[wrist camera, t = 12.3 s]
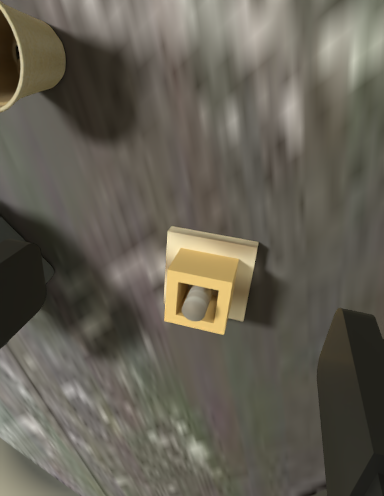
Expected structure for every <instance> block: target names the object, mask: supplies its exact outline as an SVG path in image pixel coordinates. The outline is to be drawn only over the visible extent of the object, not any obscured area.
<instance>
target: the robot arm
mask: <svg viewBox="0 0 384 496" xmlns="http://www.w3.org/2000/svg"><path fill="white" fill-rule="evenodd" d="M45 298H46V284H45V277H44V270H43V263H42V256H41V251H40V248H39V247H38V246H37V245H36V244H34V243H29V242H24V241H19V240H14V239H6V240H4V241H2V242H1V243H0V348H2V347H3V346H4V345H5V344H6V343H7V342H8V341H9V340H10V339H11V338H12V337H13V336H14V335H15V334H16V333H17V332H18V331H19V330H20V329H21V328H22V327H23V326H24V325H25V324H26V323H27V322H28V321H29V320H30V319H31V318H32V317H33V316H34V315H35V314H36V313H37V312H38V311H39V310H40V309H41V307H42V306H43V304H44V301H45ZM317 386H318V397H319V408H320V419H321V430H322V441H323V453H324V464H325V475H326V486H327V496H384V339H382V336H381V333H380V330H379V327H378V324H377V321H376V319H375V317H374V316H373V315H371V314H366V313H361V312H357V311H352V310H347V309H342V308H338V309H337V311H336V313H335V315H334V317H333V320H332V323H331V326H330V329H329V331H328V334H327V337H326V340H325V343H324V345H323V348H322V351H321V354H320V357H319V362H318V368H317Z"/></svg>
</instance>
